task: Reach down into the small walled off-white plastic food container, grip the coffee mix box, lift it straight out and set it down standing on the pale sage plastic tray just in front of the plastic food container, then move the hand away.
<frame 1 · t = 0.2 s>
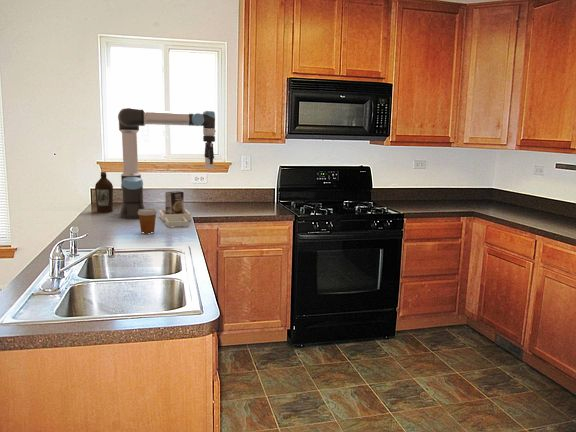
hand: (209, 168, 323), 28 cm above the counter, tool pointing down, fingers open, 13 cm apart
tray: (176, 224, 278), on the counter
coffee box: (174, 218, 297), resting in plastic food container
olive oil: (104, 211, 314), on the counter
glass of beer: (147, 233, 255), on the counter
plastic food container: (174, 218, 297), on the counter
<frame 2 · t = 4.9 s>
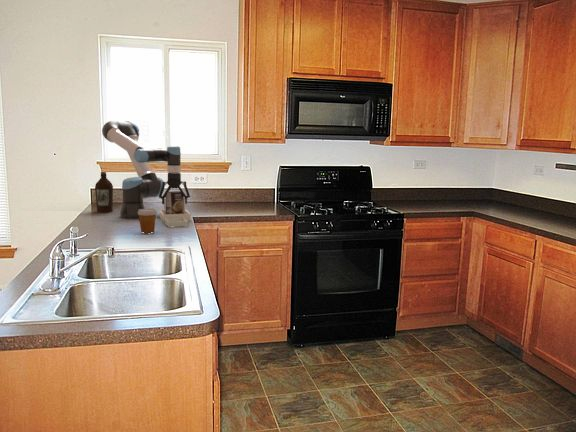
hand: (174, 209, 296), 5 cm above the counter, tool pointing down, fingers closed on coffee box, 11 cm apart
coffee box: (174, 218, 297), resting in plastic food container, touching gripper
everything else where it was.
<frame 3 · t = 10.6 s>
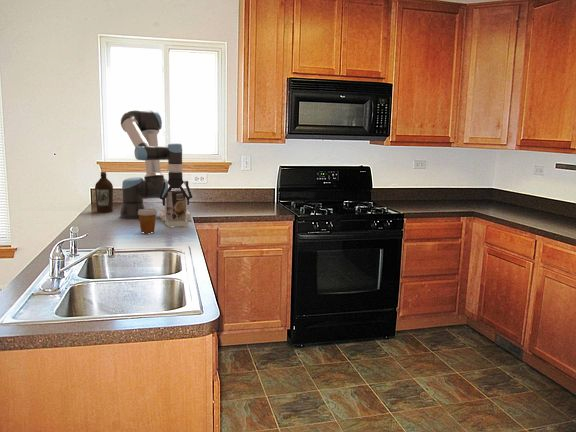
hand: (176, 211, 277), 8 cm above the counter, tool pointing down, fingers closed on coffee box, 11 cm apart
coffee box: (176, 219, 278), point 3 cm above the counter, touching gripper, tray
everything else where it was.
when the fingers open (8 cm above the counter, at t = 11.0 s): coffee box stays where it is, resting on tray.
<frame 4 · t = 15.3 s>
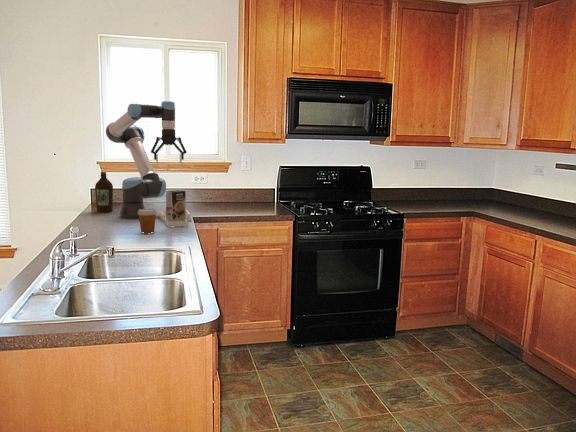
hand: (169, 165, 289), 32 cm above the counter, tool pointing down, fingers open, 13 cm apart
coffee box: (176, 219, 278), point 3 cm above the counter, touching tray
everything else where it was.
at the end: coffee box inside the target area on the tray (0.1 cm from its centre), point 2.8 cm above the tray's base; coffee box tilted 0°; the gripper is holding nothing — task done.
